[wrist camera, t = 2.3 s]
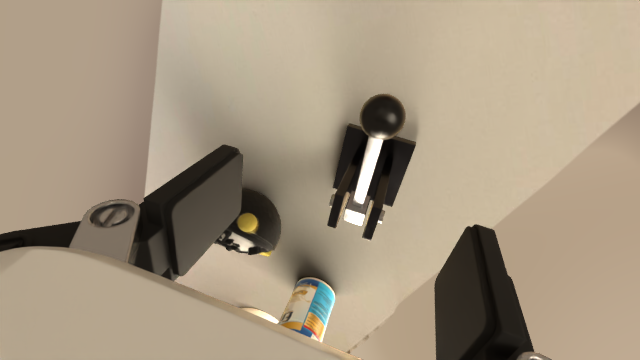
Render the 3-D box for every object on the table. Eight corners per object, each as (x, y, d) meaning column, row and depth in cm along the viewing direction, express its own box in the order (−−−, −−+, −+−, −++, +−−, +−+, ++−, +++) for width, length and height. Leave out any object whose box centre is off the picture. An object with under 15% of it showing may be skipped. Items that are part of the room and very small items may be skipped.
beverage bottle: (330, 311, 61) (293, 425, 44) (292, 294, 62) (242, 399, 45) (341, 286, 56) (306, 404, 40) (300, 268, 57) (248, 375, 41)
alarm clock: (236, 205, 59) (164, 222, 47) (286, 170, 52) (216, 178, 39) (261, 260, 57) (192, 293, 45) (316, 231, 50) (252, 261, 37)
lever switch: (349, 123, 40) (321, 165, 30) (416, 141, 39) (411, 193, 28) (334, 184, 46) (306, 237, 35) (392, 202, 44) (381, 264, 34)
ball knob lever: (370, 79, 21) (357, 109, 19) (415, 90, 20) (406, 123, 19) (345, 198, 35) (337, 221, 34) (372, 206, 35) (364, 231, 33)
